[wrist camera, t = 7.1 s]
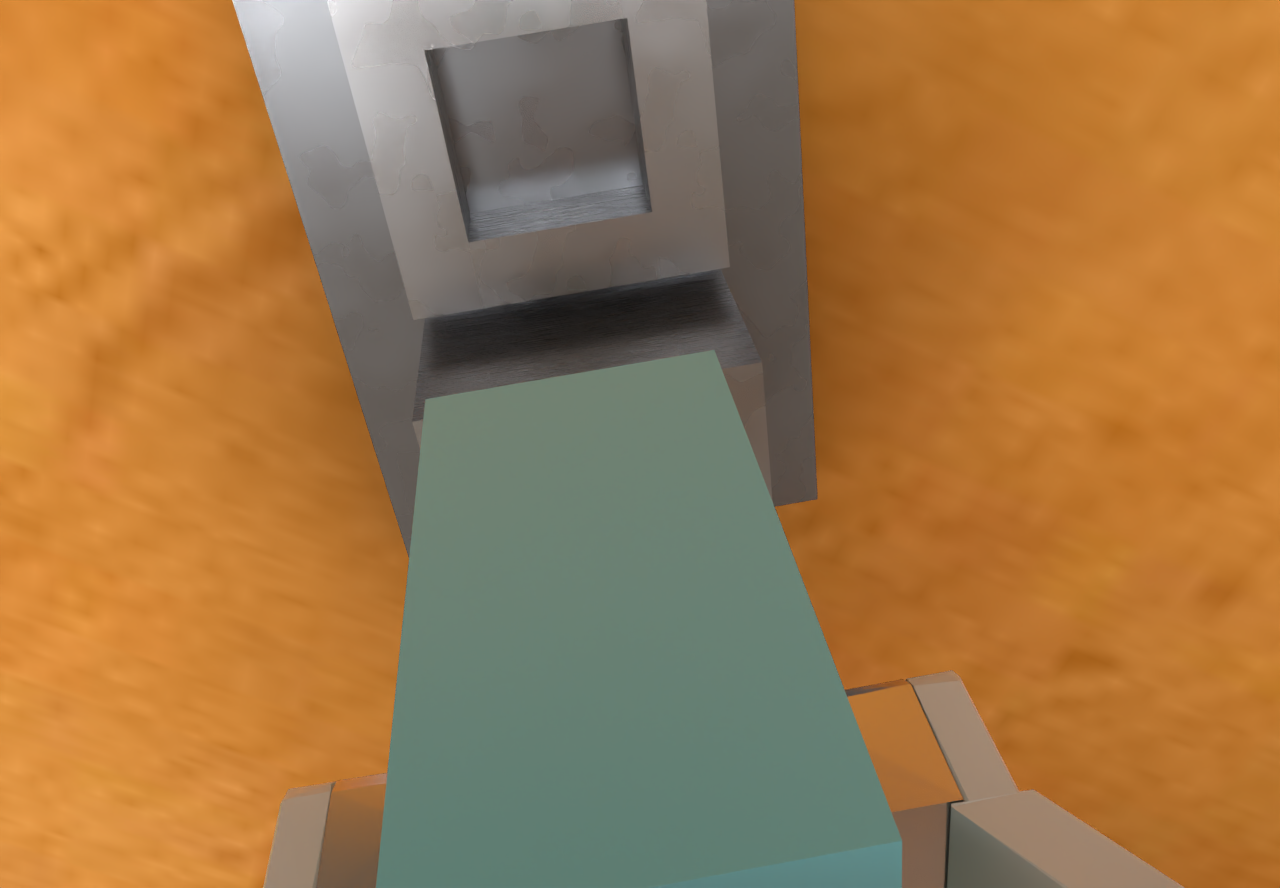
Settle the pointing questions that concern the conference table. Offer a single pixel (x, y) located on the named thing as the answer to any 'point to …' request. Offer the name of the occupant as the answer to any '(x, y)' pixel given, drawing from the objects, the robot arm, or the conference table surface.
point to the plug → (616, 655)
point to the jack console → (548, 200)
